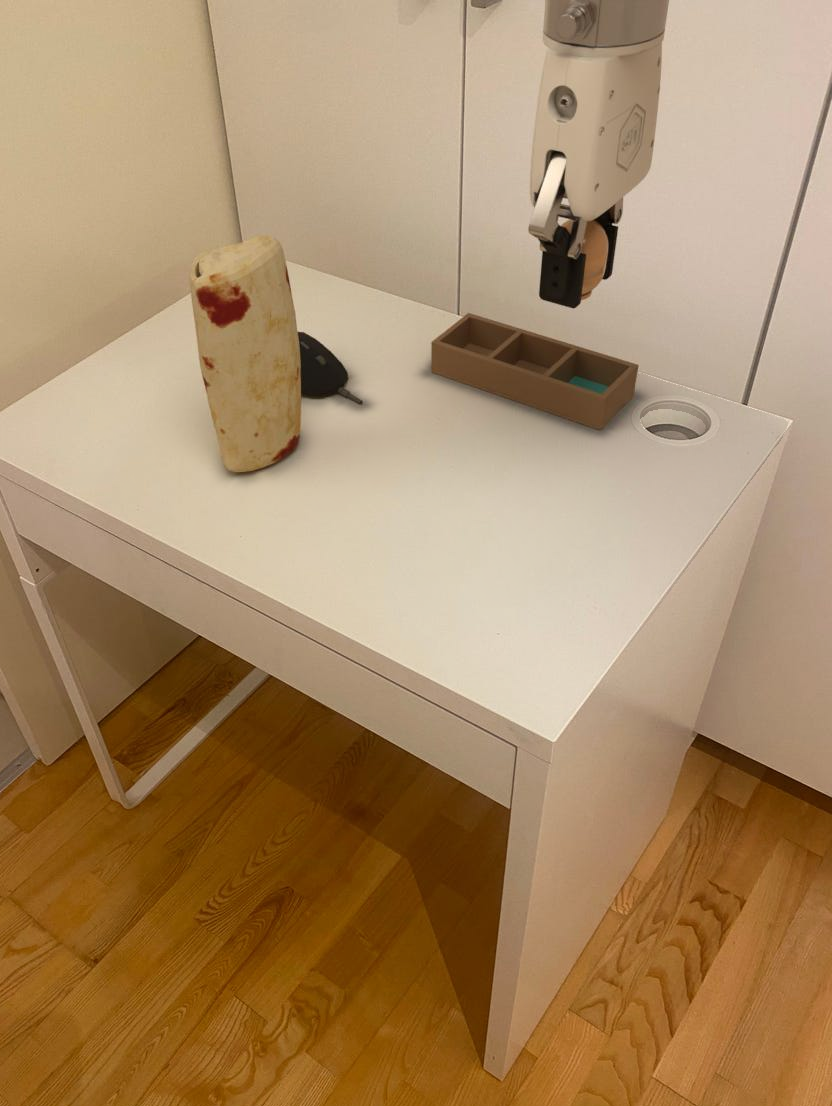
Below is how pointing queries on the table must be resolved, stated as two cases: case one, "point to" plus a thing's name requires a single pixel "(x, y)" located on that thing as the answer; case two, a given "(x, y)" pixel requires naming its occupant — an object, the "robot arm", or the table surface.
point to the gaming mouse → (321, 370)
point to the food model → (248, 350)
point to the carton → (534, 370)
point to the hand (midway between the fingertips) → (575, 285)
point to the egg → (592, 255)
